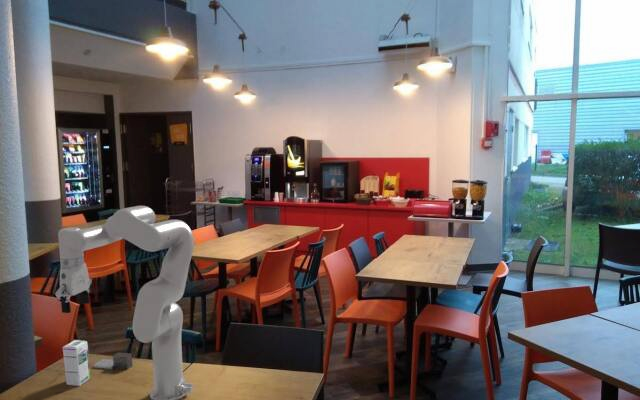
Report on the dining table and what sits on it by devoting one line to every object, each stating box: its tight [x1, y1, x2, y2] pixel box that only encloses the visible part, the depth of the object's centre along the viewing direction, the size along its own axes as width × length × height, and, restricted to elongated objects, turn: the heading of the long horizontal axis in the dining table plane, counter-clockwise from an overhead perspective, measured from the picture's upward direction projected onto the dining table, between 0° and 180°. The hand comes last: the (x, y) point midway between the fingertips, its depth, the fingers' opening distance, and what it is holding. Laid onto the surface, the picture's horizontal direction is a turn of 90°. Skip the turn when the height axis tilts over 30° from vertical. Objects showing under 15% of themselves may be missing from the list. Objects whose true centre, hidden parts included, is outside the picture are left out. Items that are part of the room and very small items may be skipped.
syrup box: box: [62, 339, 92, 387], centre depth 167 cm, size 6×6×14 cm
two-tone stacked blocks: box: [93, 352, 133, 370], centre depth 179 cm, size 14×5×5 cm, turn 77°
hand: (76, 307), depth 169 cm, fingers open, 9 cm apart
